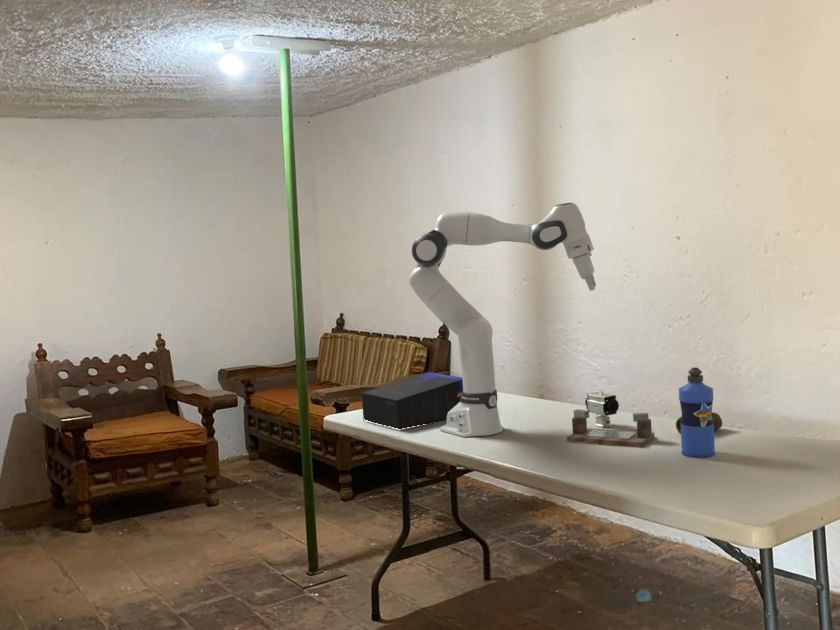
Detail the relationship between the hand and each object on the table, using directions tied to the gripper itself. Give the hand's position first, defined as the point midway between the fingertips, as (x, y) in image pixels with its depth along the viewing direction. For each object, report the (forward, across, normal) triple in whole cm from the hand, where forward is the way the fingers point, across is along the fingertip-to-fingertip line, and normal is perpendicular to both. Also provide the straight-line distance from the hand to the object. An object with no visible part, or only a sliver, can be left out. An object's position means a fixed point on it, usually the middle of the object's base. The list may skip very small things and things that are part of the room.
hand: (593, 288), depth 273 cm
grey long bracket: (+44, +19, -9) cm, 49 cm away
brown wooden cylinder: (+54, +12, +17) cm, 57 cm away
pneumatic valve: (+45, +2, -12) cm, 47 cm away
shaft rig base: (+45, +19, -9) cm, 50 cm away
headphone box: (+27, -16, -78) cm, 84 cm away
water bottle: (+52, +36, +15) cm, 65 cm away
